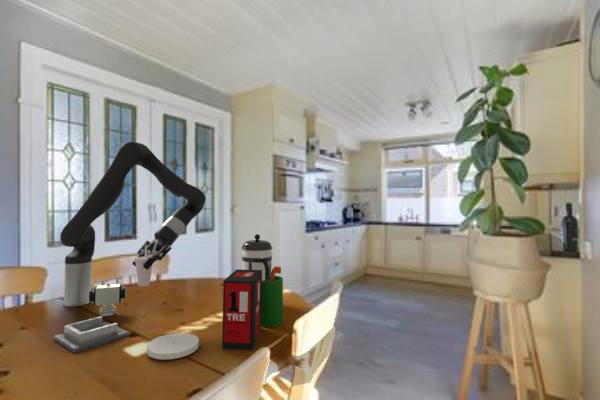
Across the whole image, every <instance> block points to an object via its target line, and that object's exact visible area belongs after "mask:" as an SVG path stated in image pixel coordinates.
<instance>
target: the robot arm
mask: <svg viewBox="0 0 600 400" xmlns="http://www.w3.org/2000/svg"><path fill="white" fill-rule="evenodd" d="M134 166H140V167H142V168H143V169H145V170H147V171H149V172H150V173H151V174H152V176H154V177H155V178H156V180H157V181H158V182H159V183H160V184H161V185H162V186H163V187H164V189H166V190H167V191H169V192H170V193H171V194H172V195H174V196H175V197H177V198H181V197H182V198H183V199H185V200H186V202H185V204H183V205H182V206H181V207H178V208H177V209H176V210H175V211H174V212H173V214H172V215H170V217H169V218H168V219H166V220H165V221H164V222H163V224H162V225H160V227H159V228H158V229H157V230H156V231H155V233H154V234H153V235H154V238H153V239H152V240H151V241H149V240H146V241H145V242H144V243H143V244H142V245H141V247H140V248H139V249H138V250H137V251H136V254H138V256H137V257H144V256H145V245H147V256H151V258H149V259H148V260H147V261H146V262H145V263H144V265H143V267H144V268H145V269H149V268H150V267H151V265H152V264H153V265H154V263H156V262H158V261H161V260H163V258H165V256H166V255H168V254H169V252H170V251H171V250H172V249H173V248H172V246H173V244H175V242H176V241H177V239H178V238H179V237H181V235H182V234H183V232H184V230H185V229H186V228H187V226H188V225H189V224H190V222H192V220H193V219H194V218H196V216H198V215H199V213H201V212H202V210H203V208H204V207H205V204H206V203H205V202H206V199H207V198H206V195H205V193H204V192H203V191H202V190H201V189H200V188H198V187H196V186H194V185H192V184H189V183H188V182H186V181H185V180H184V179H182V178H181V177H180V176H179V175H177V174H176V172H174V171H172V170H171V169H170V168H168V167H167V165H165V164H164V163H163V162H162V161H161V160H160V159H159V158H158V157H157V156H156V155H155V154H154V153H153V152H152V150H150V149H149V146H147V145H145V144H143V143H141V142H137V141H127V142H125V143H123V144H122V145H121V146H120V148H119V149H118V152H117V153H116V155H115V157H114V159H113V160H112V162H111V164H110V166H109V167H108V169H107V170H106V172H104V175H102V177H101V179H100V180H99V181H98V183H97V184H96V185H95V187H94V188H93V190H92V191H91V192H90V194H89V196H88V197H87V199H86V200H85V202H84V203H83V204H82V205H81V207H80V209H78V211H77V212H76V214H75V215H74V216H73V217H72V218H71V219H70V220H69V221H68V222H67V223H66V224H65V226H64V227H63V229H62V230H61V232H60V237H59V238H60V239H59V240H60V242H61V244H62V245H64V246H66V247H69V248H71V247H72V248H73V249H72V251H71V252H69V253H68V254H67V255H66V256H65V258H64V286H63V288H64V289H63V306H64V307H79V306H84V305H88V304H89V303H91V302H89V292H90V290H92V264H93V263H92V258H93V256H94V254H95V243H96V231H95V228H94V226H92V224H93V222H94V221H96V220H97V219H99V217H101V216H102V215H104V214H105V213H106V212H107V211H109V210H110V209H111V208H112V207H113V206H114V204H115V203H116V202H117V200H118V199H119V198H120V196H121V194H122V191H123V189H124V185H125V179H126V178H127V175H128V174H129V173H130V171H131V170H132V169H133V168H134ZM132 265H133V266H134V267H135V268H136V263H135V261H134V260H133V261H132ZM153 265H152V266H153Z"/></svg>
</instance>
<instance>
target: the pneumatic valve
mask: <svg viewBox="0 0 600 400" xmlns="http://www.w3.org/2000/svg"><path fill="white" fill-rule="evenodd" d="M126 298H127V287H126V286H123V283H115V284H111V283H110V282H107V283H106V284H104V285H103V284H102V285H95V286H94V287H93V289H91V290H90V292H89V302H90V303H92V304H93V306H101V307H100V308H99V311H98V312H99V313H98V314H99V315H100V316H102V318H104V317H112V316H114V314H116V312H117V306H115V304H120V303H122V301H123V300H124V299H125V300H126Z"/></svg>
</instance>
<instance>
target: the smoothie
mask: <svg viewBox="0 0 600 400" xmlns="http://www.w3.org/2000/svg"><path fill="white" fill-rule="evenodd" d="M149 258H151V255H150V256H147V245H145V256H144V257H138V256H137V257H134V258H133V259H134V260H133V261H135V263H136V267H135V271H136V279H137V286H138V287H147V286H149V285H150V284H151V277H152V271H153V265H154V263H153V264H152V265H151V267H150V268H149V269H145V268H144V267H143V265H144V263H145V262H146V261H147V260H148V259H149Z"/></svg>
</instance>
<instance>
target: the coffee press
mask: <svg viewBox="0 0 600 400" xmlns="http://www.w3.org/2000/svg"><path fill="white" fill-rule="evenodd" d="M260 238H261V235H260V234H259V233H258V234H257V233H256V234H255V235H254V239H251V240H246V241H245V242H243V244H242V245H241V250H242V256H241V262H242V263H241V265H242V266H241V267H242V268H241V270H262V281H264V280H267V276H271V272H272V260H273V254H272V250H273V246H272V243H271V242H269V241H268V240H265V239H262V240H261V239H260Z"/></svg>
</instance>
